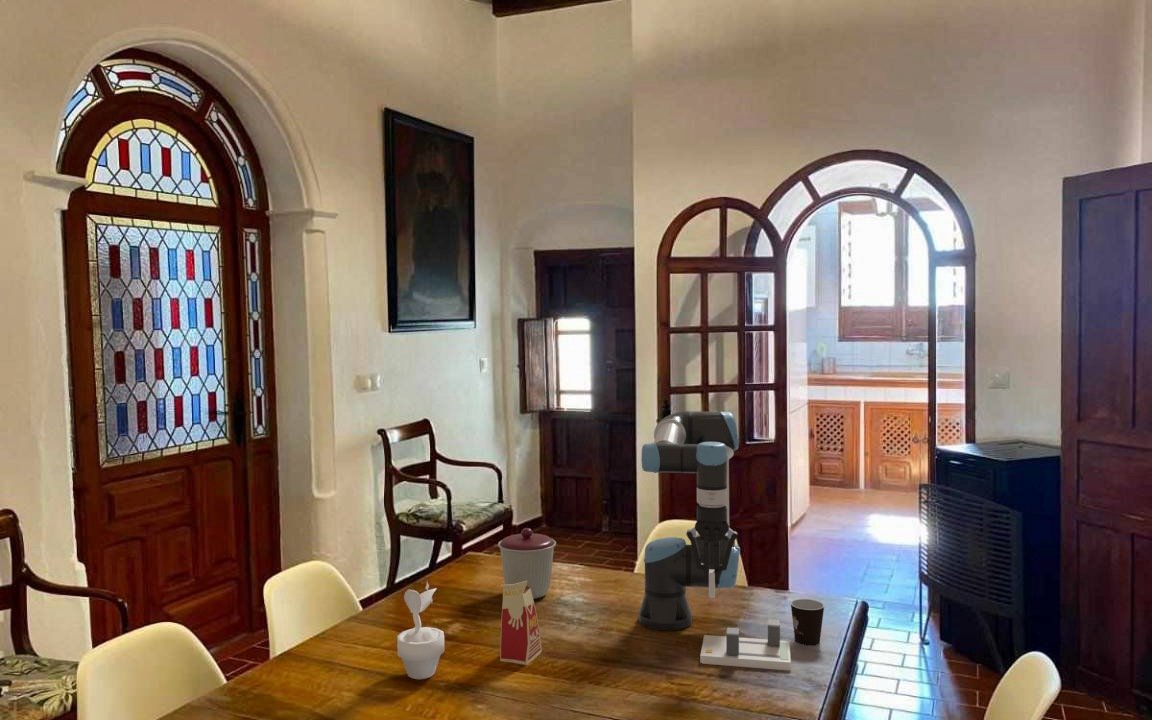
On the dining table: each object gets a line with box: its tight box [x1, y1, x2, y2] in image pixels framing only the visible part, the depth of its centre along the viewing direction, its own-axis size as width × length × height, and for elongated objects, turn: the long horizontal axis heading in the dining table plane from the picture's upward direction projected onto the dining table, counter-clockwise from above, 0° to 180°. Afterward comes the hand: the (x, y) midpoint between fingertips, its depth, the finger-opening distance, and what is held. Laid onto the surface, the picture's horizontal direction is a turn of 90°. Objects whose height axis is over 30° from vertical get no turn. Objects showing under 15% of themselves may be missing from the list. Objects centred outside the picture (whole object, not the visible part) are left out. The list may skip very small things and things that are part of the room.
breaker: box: [767, 618, 781, 646], centre depth 221 cm, size 3×4×5 cm
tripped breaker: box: [725, 627, 740, 655], centre depth 215 cm, size 3×4×5 cm
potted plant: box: [396, 581, 445, 680], centre depth 209 cm, size 13×12×25 cm
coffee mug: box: [790, 598, 825, 647], centre depth 229 cm, size 12×9×10 cm
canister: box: [497, 527, 557, 600], centre depth 268 cm, size 18×18×21 cm
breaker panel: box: [699, 634, 792, 671], centre depth 219 cm, size 22×14×2 cm, turn 77°
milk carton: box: [499, 580, 543, 666], centre depth 220 cm, size 9×9×20 cm
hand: (712, 596), depth 216 cm, fingers closed
